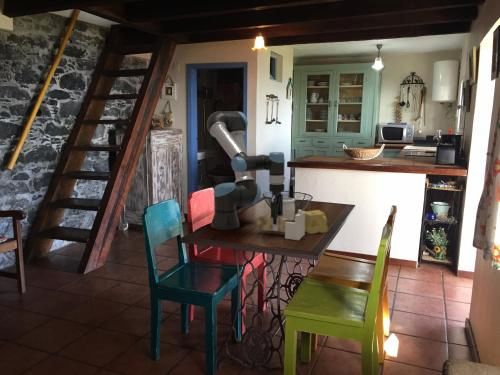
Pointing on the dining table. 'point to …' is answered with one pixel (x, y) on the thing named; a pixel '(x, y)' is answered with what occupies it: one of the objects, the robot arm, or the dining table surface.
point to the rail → (267, 223)
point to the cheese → (315, 222)
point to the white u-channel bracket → (296, 227)
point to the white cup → (288, 207)
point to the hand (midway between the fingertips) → (276, 229)
